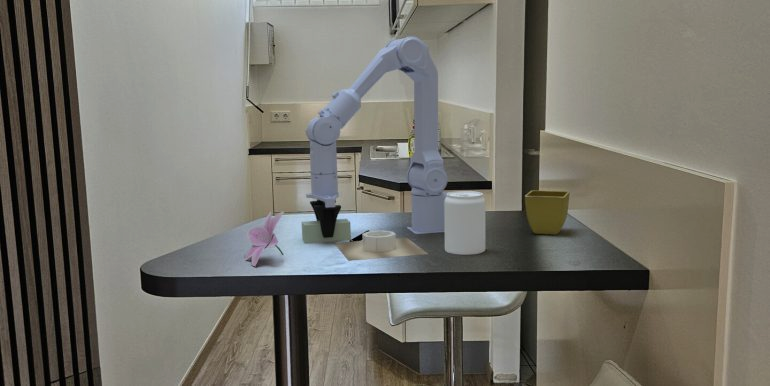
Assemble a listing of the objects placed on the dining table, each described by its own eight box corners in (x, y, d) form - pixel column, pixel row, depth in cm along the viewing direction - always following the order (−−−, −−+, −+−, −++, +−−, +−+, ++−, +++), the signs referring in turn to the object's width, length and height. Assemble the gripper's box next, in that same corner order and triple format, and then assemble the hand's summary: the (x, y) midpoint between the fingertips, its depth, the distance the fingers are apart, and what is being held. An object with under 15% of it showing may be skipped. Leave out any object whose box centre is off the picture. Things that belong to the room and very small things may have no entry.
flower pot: (523, 235, 156) (523, 195, 155) (530, 227, 164) (531, 189, 163) (564, 237, 153) (564, 197, 151) (569, 229, 161) (570, 191, 159)
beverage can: (459, 259, 136) (458, 198, 134) (437, 251, 143) (436, 192, 141) (493, 254, 139) (493, 194, 138) (470, 246, 146) (470, 189, 145)
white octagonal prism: (390, 243, 148) (390, 229, 147) (398, 250, 142) (398, 235, 141) (360, 246, 146) (360, 231, 146) (367, 252, 140) (367, 238, 140)
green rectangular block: (347, 238, 157) (346, 218, 156) (350, 242, 153) (350, 222, 152) (302, 241, 154) (301, 221, 154) (305, 246, 150) (304, 225, 149)
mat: (406, 240, 154) (406, 237, 154) (428, 257, 138) (428, 253, 138) (334, 245, 150) (334, 242, 150) (348, 263, 134) (348, 260, 134)
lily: (252, 257, 146) (229, 221, 141) (303, 234, 145) (282, 197, 141) (251, 290, 135) (227, 252, 131) (307, 265, 135) (285, 226, 130)
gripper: (301, 170, 157) (303, 229, 159) (310, 178, 143) (312, 243, 145) (332, 168, 159) (334, 227, 161) (344, 176, 145) (346, 240, 147)
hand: (326, 234), depth 153 cm, fingers closed on green rectangular block, 4 cm apart
